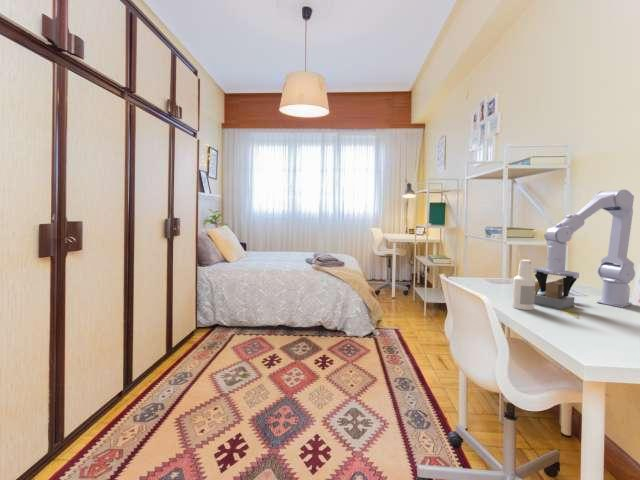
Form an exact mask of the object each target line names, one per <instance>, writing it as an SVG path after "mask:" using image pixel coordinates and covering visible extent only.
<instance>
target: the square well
mask: <svg viewBox="0 0 640 480" xmlns="http://www.w3.org/2000/svg"><path fill="white" fill-rule="evenodd" d="M545 295H546V292H541V293H537V295H535V296H534V305H538V306H541V307H546V308H551V309H555V310H560V311H563V310H567V309H570V308H573V307H575V296H569V295H568V296H563V294H562V299H556V298H551V297H546V296H545Z"/></svg>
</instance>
